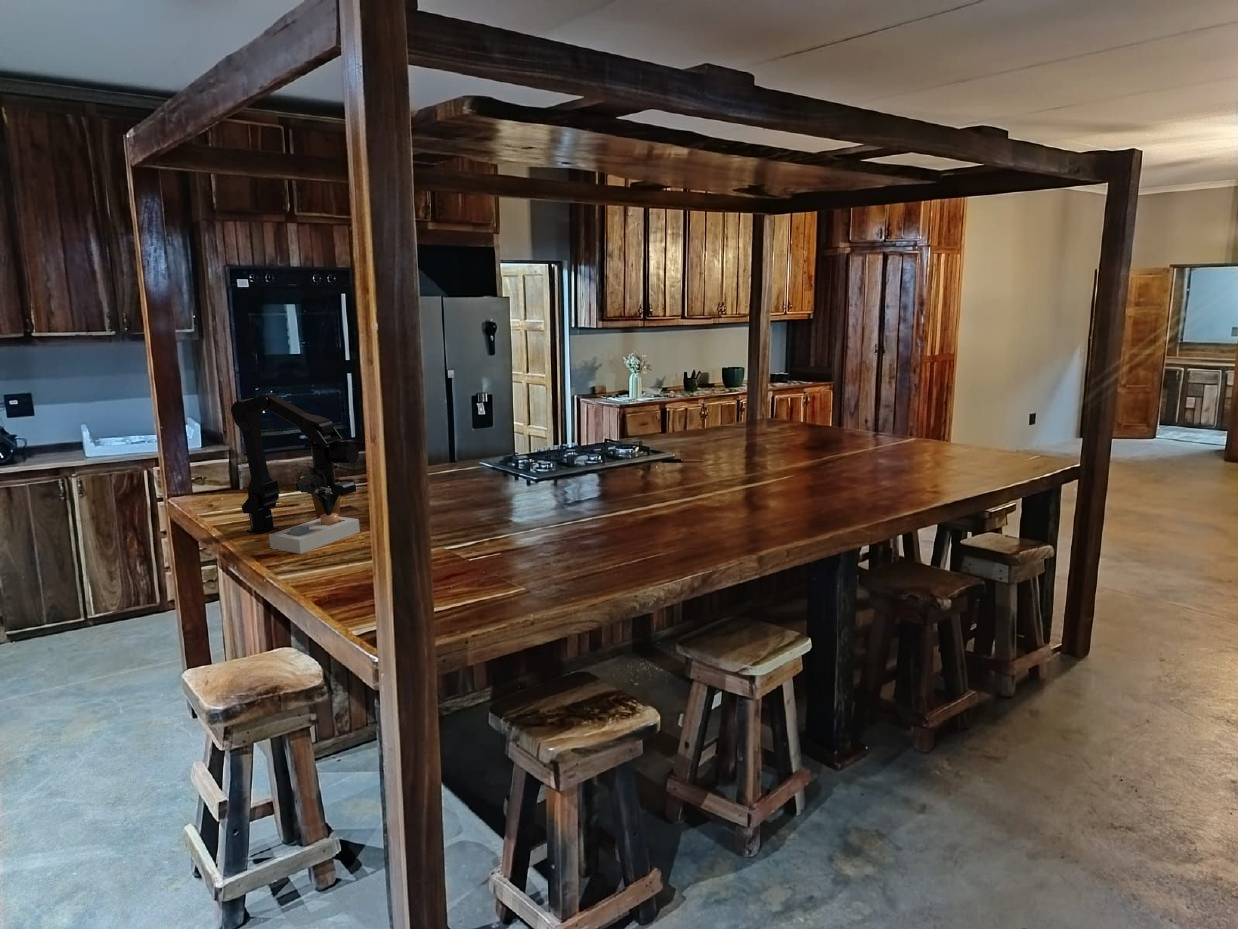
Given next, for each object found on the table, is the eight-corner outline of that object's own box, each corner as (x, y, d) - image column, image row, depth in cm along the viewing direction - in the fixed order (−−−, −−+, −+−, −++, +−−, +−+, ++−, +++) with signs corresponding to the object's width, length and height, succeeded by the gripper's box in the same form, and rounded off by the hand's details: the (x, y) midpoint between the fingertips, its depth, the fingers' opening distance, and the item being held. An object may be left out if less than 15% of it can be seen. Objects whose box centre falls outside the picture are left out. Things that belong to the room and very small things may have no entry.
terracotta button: (317, 526, 244) (316, 516, 243) (330, 522, 248) (329, 512, 248) (329, 528, 242) (328, 518, 241) (342, 523, 246) (341, 514, 245)
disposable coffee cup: (311, 527, 255) (307, 489, 252) (313, 519, 263) (309, 482, 261) (344, 524, 257) (340, 486, 255) (345, 516, 266) (341, 479, 264)
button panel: (270, 548, 234) (268, 534, 233) (330, 527, 253) (329, 515, 252) (300, 553, 229) (299, 539, 228) (359, 532, 248) (358, 519, 247)
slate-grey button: (287, 540, 235) (285, 530, 234) (301, 535, 239) (300, 525, 238) (299, 542, 232) (298, 532, 232) (313, 537, 237) (312, 527, 236)
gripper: (277, 465, 239) (284, 518, 242) (325, 471, 230) (330, 525, 233) (308, 458, 248) (314, 509, 251) (355, 463, 240) (360, 515, 243)
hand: (328, 515), depth 244 cm, fingers closed
